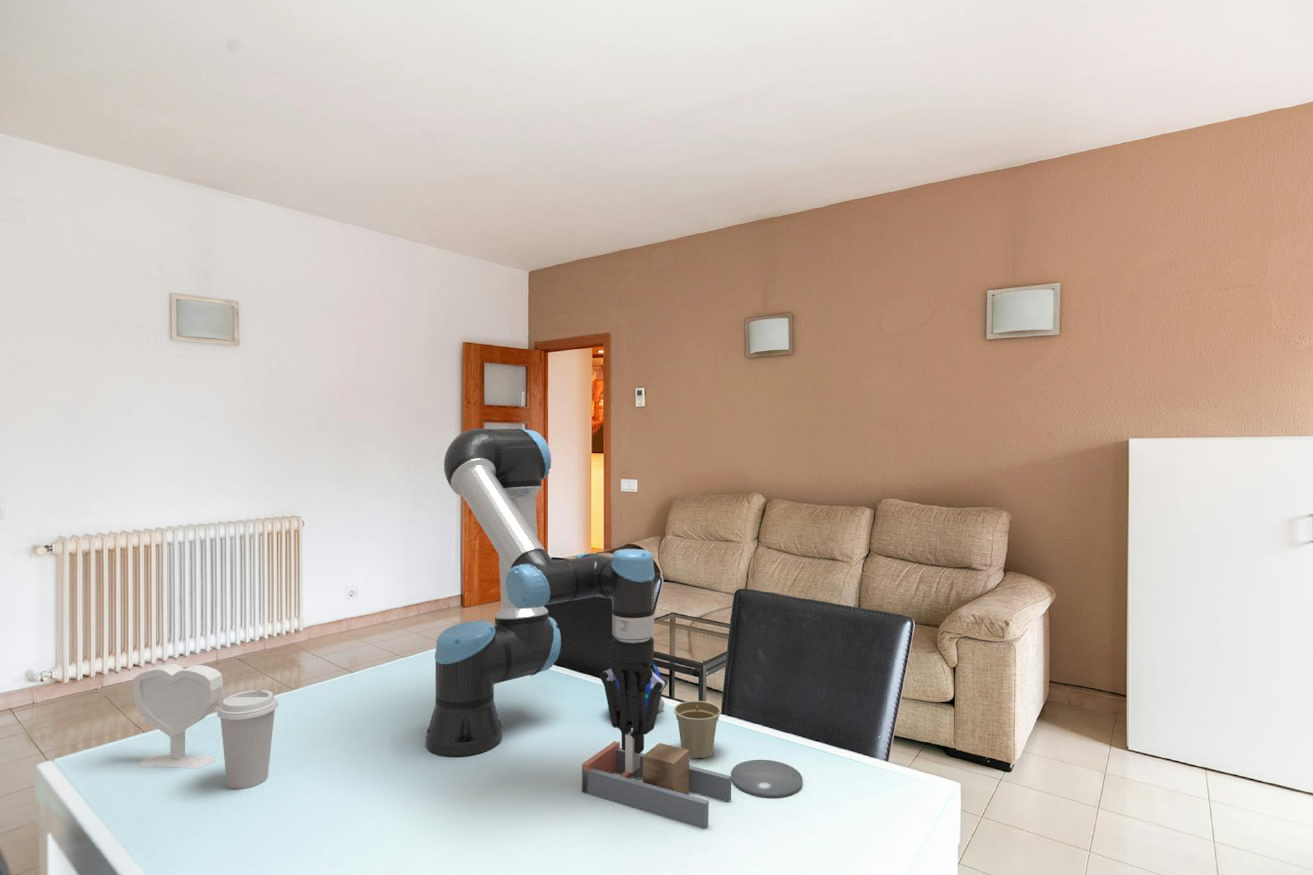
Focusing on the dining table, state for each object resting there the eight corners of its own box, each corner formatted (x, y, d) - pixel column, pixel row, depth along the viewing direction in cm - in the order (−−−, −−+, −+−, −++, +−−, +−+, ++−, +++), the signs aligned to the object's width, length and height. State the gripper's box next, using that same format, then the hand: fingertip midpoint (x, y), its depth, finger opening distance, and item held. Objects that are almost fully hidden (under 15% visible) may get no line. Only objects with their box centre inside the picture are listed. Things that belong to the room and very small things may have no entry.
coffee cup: (289, 772, 132) (290, 692, 132) (244, 797, 123) (245, 710, 123) (250, 764, 135) (251, 685, 135) (203, 787, 126) (204, 703, 126)
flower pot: (717, 765, 136) (718, 720, 136) (669, 760, 138) (670, 716, 138) (723, 744, 146) (723, 702, 146) (677, 740, 148) (678, 698, 148)
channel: (581, 791, 126) (582, 763, 126) (614, 767, 135) (614, 740, 135) (705, 828, 114) (705, 797, 114) (731, 798, 124) (731, 770, 124)
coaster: (719, 786, 128) (719, 782, 128) (746, 758, 140) (746, 754, 140) (789, 805, 122) (789, 800, 122) (811, 773, 133) (811, 769, 133)
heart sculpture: (128, 765, 134) (129, 670, 134) (148, 753, 139) (149, 661, 139) (207, 768, 133) (208, 672, 133) (225, 756, 138) (226, 664, 138)
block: (642, 801, 123) (643, 755, 123) (659, 787, 128) (659, 742, 128) (673, 811, 120) (673, 763, 120) (689, 795, 125) (689, 750, 125)
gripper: (590, 637, 127) (590, 769, 127) (654, 647, 121) (654, 786, 121) (613, 627, 134) (612, 753, 133) (674, 636, 127) (674, 768, 127)
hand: (632, 769), depth 127 cm, fingers closed
